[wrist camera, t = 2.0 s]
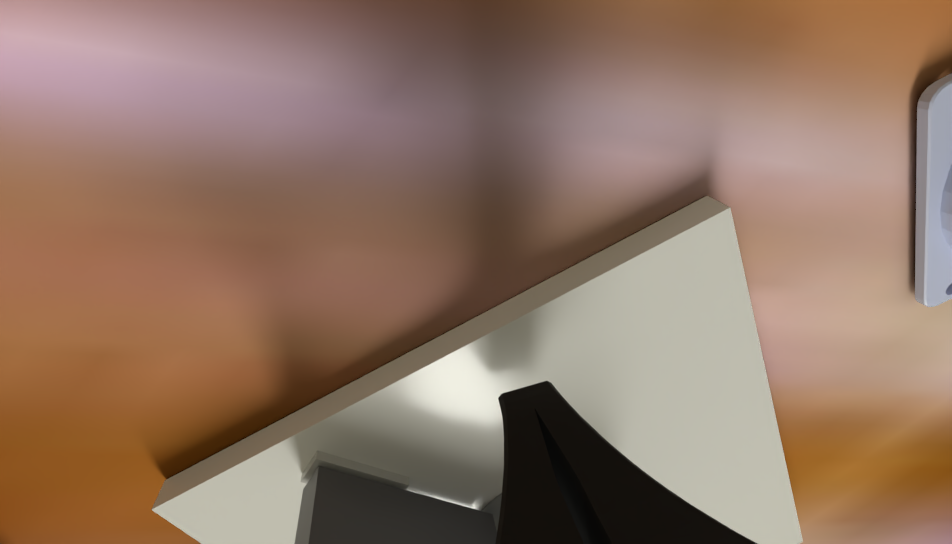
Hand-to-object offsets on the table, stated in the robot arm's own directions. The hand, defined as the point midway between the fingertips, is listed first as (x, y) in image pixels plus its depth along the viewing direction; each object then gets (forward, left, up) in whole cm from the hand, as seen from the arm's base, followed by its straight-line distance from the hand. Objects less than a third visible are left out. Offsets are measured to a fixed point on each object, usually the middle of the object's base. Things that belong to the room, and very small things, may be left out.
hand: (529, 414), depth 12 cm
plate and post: (+2, +7, -3) cm, 8 cm away
